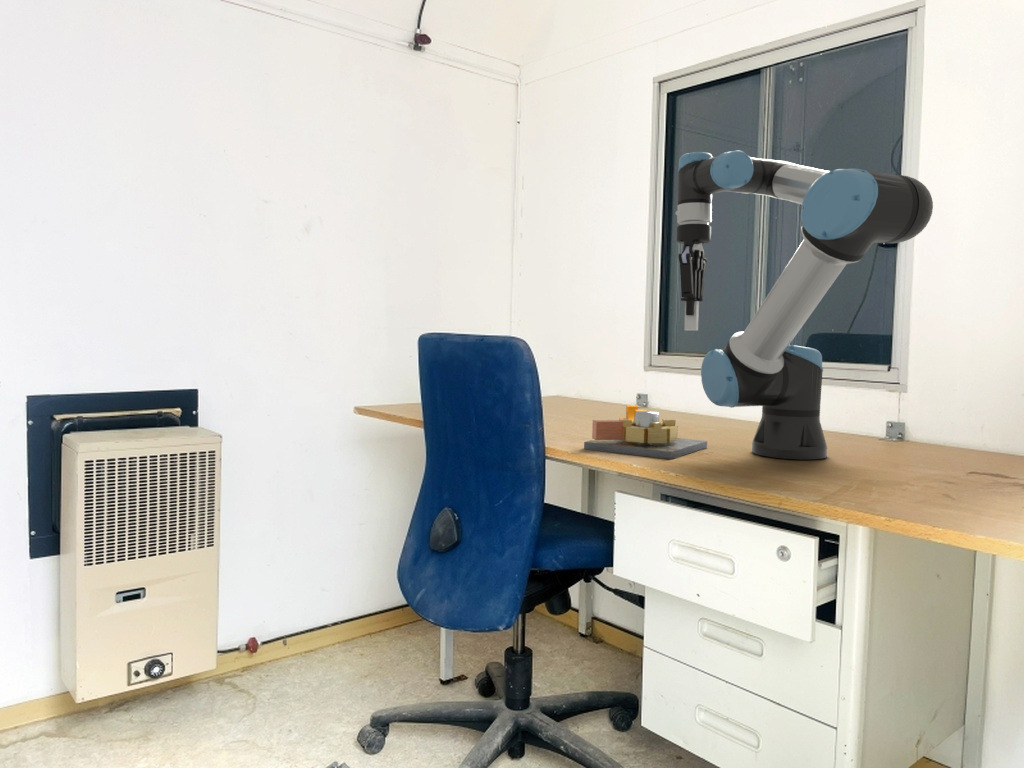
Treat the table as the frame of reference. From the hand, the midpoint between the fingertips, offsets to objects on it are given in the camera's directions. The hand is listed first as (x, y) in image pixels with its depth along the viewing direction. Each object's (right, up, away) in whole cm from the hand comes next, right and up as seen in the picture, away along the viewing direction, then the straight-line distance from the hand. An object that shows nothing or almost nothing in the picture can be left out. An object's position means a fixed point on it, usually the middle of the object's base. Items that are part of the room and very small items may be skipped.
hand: (691, 330), depth 181 cm
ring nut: (-14, -24, -6) cm, 28 cm away
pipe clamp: (-10, -25, +20) cm, 33 cm away
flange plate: (-11, -26, -5) cm, 29 cm away
